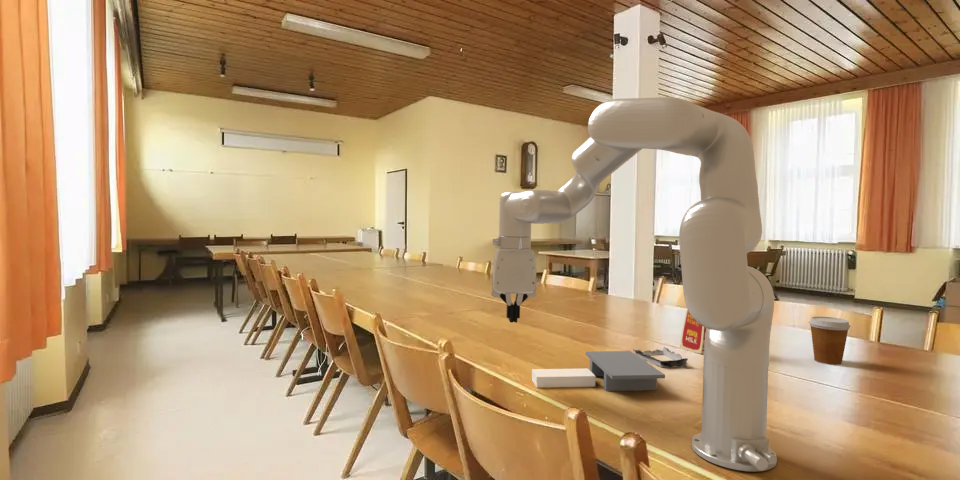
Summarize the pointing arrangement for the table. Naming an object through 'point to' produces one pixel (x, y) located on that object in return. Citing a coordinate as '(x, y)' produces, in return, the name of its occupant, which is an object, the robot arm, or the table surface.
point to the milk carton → (692, 335)
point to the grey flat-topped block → (623, 370)
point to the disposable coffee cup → (829, 339)
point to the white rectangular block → (563, 378)
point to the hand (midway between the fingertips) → (512, 321)
